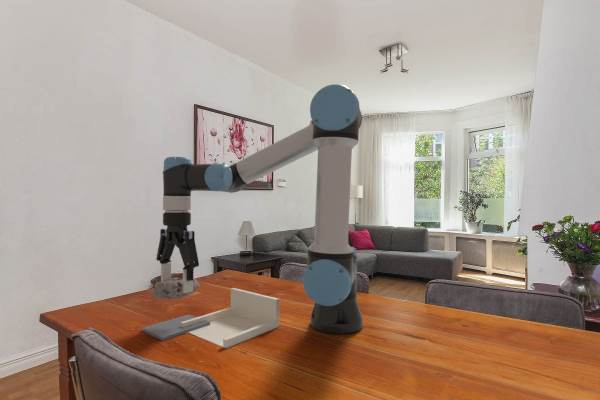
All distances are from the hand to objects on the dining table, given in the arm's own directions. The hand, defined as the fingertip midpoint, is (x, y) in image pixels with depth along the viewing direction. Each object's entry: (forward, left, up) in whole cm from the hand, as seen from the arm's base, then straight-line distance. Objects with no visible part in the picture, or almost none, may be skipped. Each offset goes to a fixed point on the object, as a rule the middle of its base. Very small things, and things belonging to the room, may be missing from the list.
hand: (176, 288), depth 100 cm
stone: (0, 0, -2) cm, 2 cm away
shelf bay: (-12, -9, -11) cm, 19 cm away
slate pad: (0, 0, -11) cm, 11 cm away
